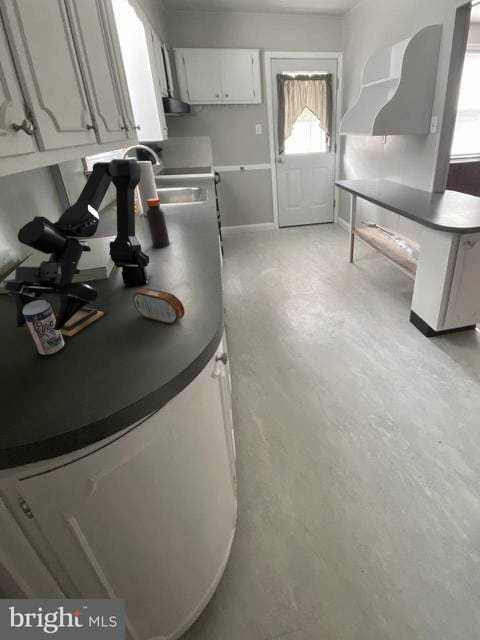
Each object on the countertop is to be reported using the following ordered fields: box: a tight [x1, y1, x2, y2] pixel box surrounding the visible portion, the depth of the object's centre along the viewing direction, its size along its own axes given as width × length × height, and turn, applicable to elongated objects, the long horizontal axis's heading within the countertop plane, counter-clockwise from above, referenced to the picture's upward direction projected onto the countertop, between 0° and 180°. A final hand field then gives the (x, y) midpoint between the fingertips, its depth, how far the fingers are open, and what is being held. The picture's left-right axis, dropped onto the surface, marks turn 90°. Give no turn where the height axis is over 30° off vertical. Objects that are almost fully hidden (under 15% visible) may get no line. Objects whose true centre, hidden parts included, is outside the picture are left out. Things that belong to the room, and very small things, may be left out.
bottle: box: [146, 197, 170, 248], centre depth 128 cm, size 7×7×20 cm
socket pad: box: [54, 306, 105, 337], centre depth 80 cm, size 10×10×2 cm
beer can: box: [23, 299, 65, 356], centre depth 68 cm, size 5×5×12 cm
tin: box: [132, 286, 185, 325], centre depth 79 cm, size 15×3×8 cm, turn 68°
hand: (37, 328), depth 66 cm, fingers open, 9 cm apart
